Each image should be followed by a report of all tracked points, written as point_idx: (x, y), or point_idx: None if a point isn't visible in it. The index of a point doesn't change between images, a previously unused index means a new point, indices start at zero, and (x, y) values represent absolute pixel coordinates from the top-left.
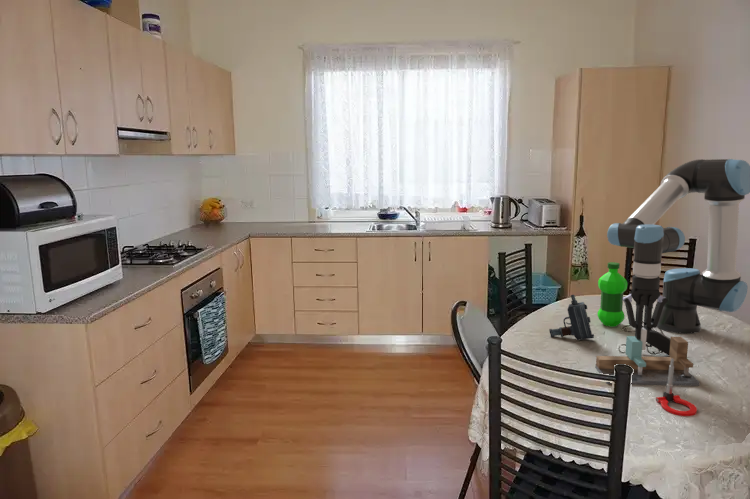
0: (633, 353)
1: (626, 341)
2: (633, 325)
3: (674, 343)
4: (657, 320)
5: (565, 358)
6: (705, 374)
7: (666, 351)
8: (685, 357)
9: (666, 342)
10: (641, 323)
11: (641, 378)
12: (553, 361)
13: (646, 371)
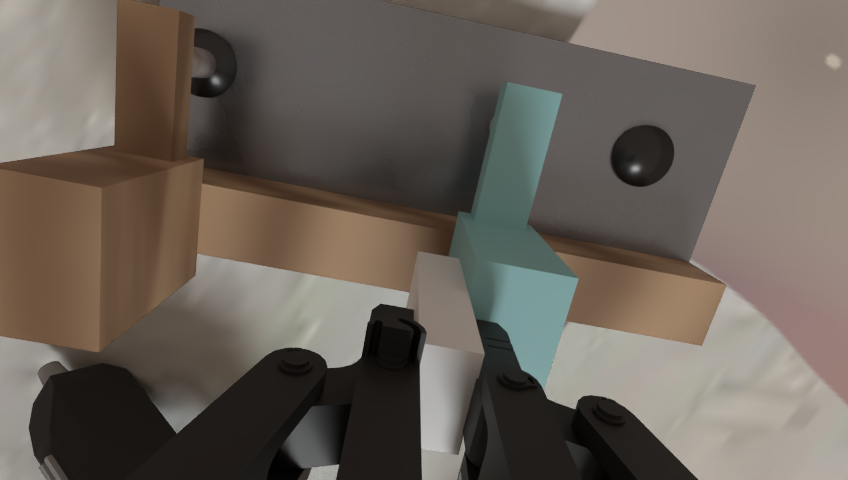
0: (529, 237)
1: None
2: (621, 419)
3: (125, 249)
4: (225, 421)
5: (732, 449)
6: (45, 124)
7: (142, 412)
8: (115, 145)
9: (107, 459)
10: (508, 425)
11: (523, 73)
12: (822, 423)
13: (424, 174)
